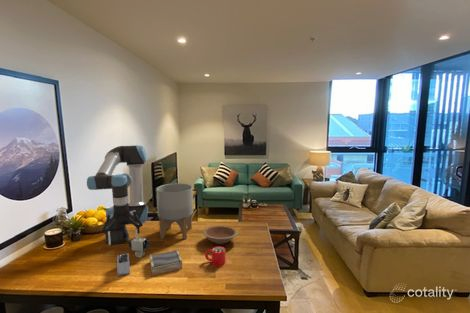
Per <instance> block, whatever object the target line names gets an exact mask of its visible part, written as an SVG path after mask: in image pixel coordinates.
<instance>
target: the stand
mask: <svg viewBox="0 0 470 313" xmlns="http://www.w3.org/2000/svg"><path fill="white" fill-rule="evenodd" d="M149 265H150V270H151V275H152V276H156V275H160V274H164V273H169V272H173V271H177V270H182V269H183V260H182V257H181V254H180V253H179V249H178V248H176V249H175V250H171V251H167V252H161V253H156V254H151V253H150V254H149Z"/></svg>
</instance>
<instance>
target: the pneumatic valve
mask: <svg viewBox="0 0 470 313" xmlns="http://www.w3.org/2000/svg"><path fill="white" fill-rule="evenodd" d="M150 246H151V242H150V240H149V238H147V237H141V236H138V240H136V236H134V237H133V238H132V239H130V240H129V242H128V247H129V248H130V250H131V251H134V252H135V253H134V255H135V258H143V257H144V256H145V254H146V251H147V250H149V248H150Z"/></svg>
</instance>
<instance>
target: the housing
mask: <svg viewBox="0 0 470 313" xmlns="http://www.w3.org/2000/svg"><path fill="white" fill-rule="evenodd" d="M116 256H117V257H116V272H117V277H122V276H128V275H130V274H131V269H130V267H131V266H130V264H131V262H130V253H129V252H127V253H121V254H117V255H116Z"/></svg>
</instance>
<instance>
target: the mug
mask: <svg viewBox="0 0 470 313" xmlns="http://www.w3.org/2000/svg"><path fill="white" fill-rule="evenodd" d="M209 253H211V257H209V256H208V254H209ZM204 256H205V260H207V261H209V262H211V265H213V266H215V267H222V266H224V265H225V264H226V248H225V247H223V246H215V247H213V248H212V249H208V250H206V251H205V253H204Z"/></svg>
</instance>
